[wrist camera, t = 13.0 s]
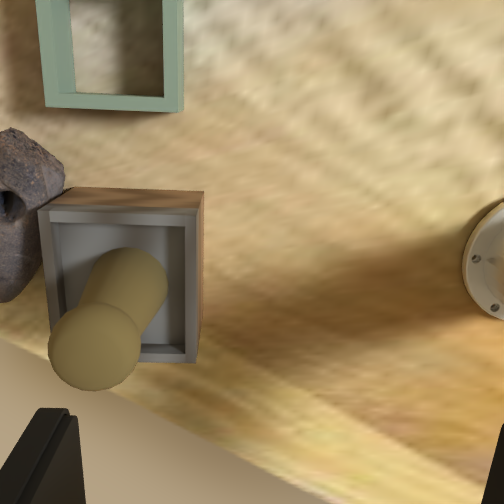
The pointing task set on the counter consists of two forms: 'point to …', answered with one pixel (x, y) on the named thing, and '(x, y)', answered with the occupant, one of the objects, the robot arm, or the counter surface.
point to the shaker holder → (65, 96)
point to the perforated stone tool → (23, 207)
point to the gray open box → (133, 236)
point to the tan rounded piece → (108, 320)
